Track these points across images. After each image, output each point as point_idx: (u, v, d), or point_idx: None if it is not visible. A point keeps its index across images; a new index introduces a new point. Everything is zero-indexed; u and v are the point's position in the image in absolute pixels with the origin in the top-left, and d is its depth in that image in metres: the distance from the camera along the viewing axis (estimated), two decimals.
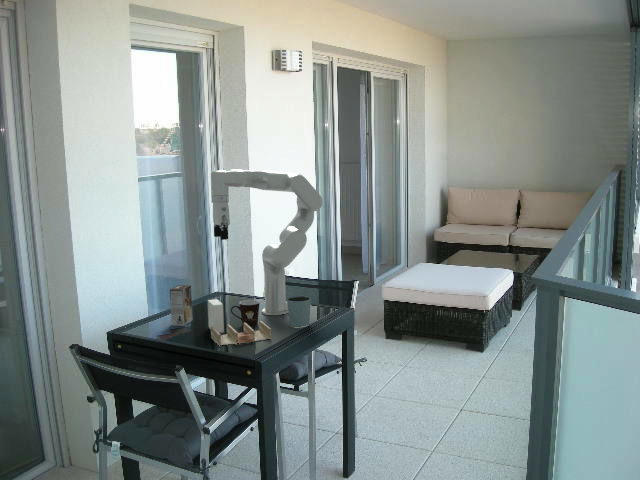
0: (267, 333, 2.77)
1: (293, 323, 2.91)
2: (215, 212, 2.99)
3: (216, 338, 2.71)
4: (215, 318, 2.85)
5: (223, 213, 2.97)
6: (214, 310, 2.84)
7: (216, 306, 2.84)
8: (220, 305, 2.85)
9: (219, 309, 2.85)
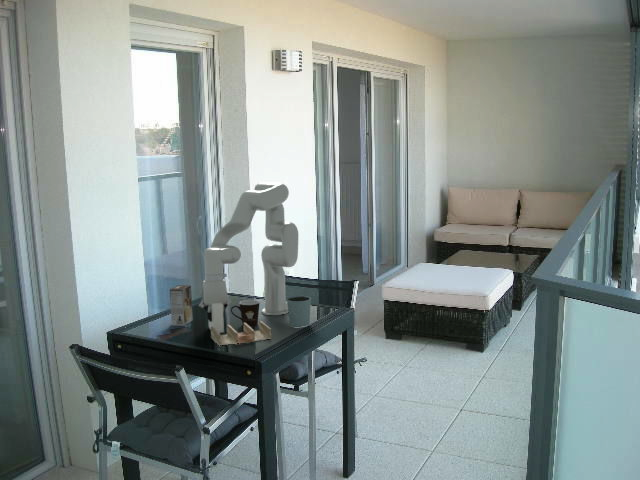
0: (267, 333, 2.77)
1: (293, 323, 2.91)
2: (217, 291, 2.86)
3: (216, 338, 2.71)
4: (215, 318, 2.85)
5: None
6: (214, 310, 2.84)
7: (216, 306, 2.84)
8: (220, 305, 2.85)
9: (219, 309, 2.85)
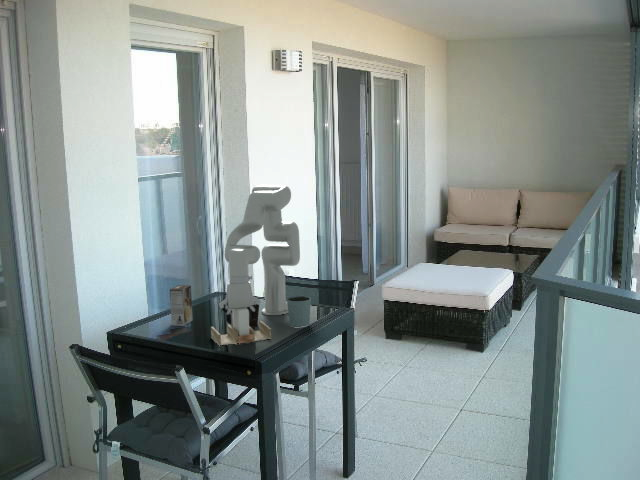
0: (267, 333, 2.77)
1: (293, 323, 2.91)
2: (242, 294, 2.72)
3: (216, 338, 2.71)
4: (241, 324, 2.71)
5: None
6: (240, 316, 2.71)
7: (242, 312, 2.71)
8: (246, 311, 2.71)
9: (245, 315, 2.71)
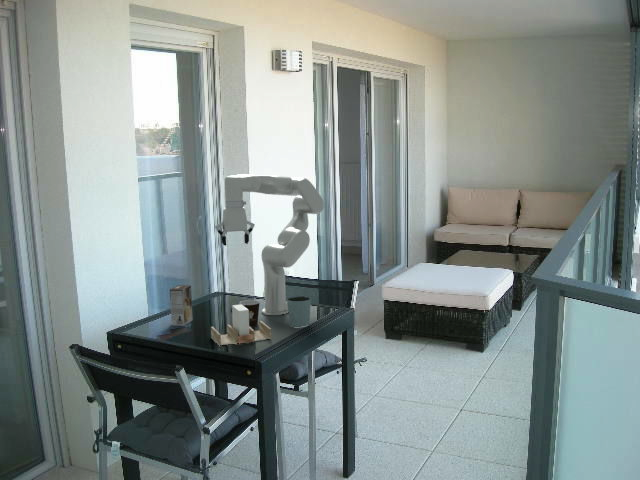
0: (267, 333, 2.77)
1: (293, 323, 2.91)
2: (237, 218, 2.94)
3: (216, 338, 2.71)
4: (241, 324, 2.71)
5: None
6: (240, 316, 2.71)
7: (242, 312, 2.71)
8: (246, 311, 2.71)
9: (245, 315, 2.71)
